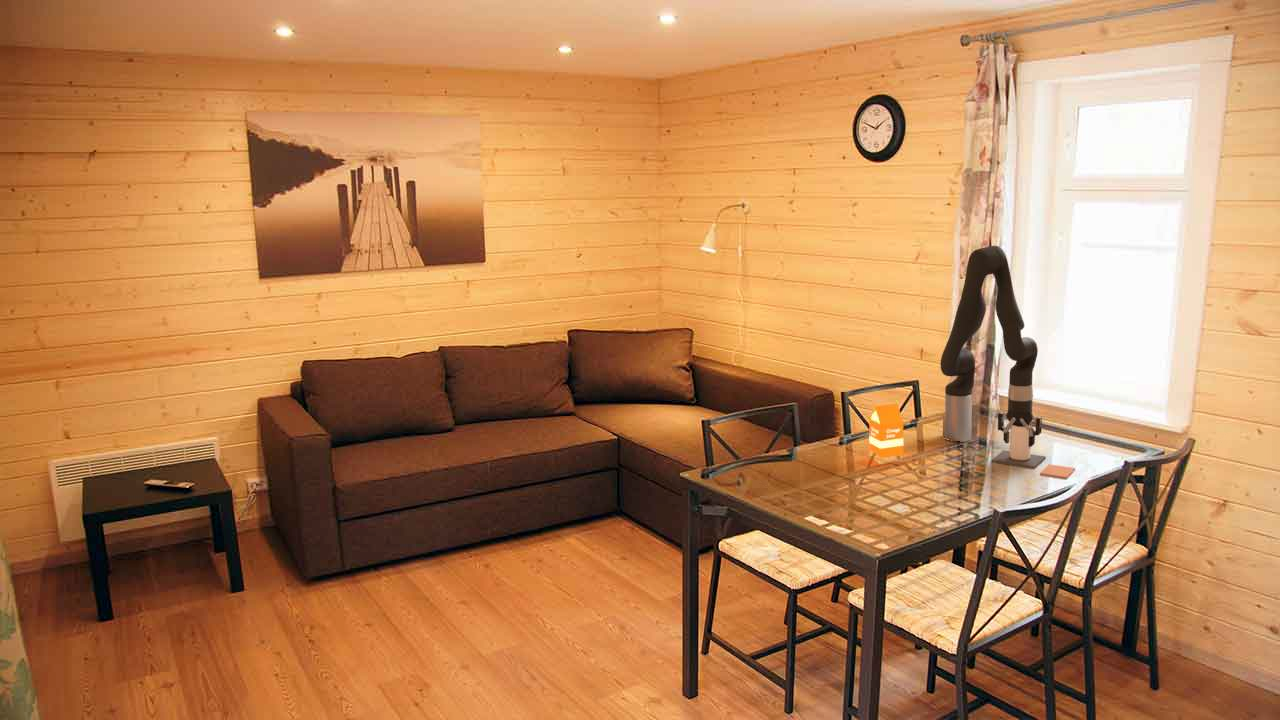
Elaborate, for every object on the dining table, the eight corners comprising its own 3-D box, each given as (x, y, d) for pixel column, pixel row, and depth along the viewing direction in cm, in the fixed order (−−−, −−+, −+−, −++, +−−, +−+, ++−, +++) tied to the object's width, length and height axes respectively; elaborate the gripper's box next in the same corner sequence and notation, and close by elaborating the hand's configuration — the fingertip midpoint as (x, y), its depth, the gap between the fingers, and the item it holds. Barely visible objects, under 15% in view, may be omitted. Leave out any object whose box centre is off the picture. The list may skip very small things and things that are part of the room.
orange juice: (903, 462, 311) (903, 406, 307) (880, 465, 309) (880, 409, 305) (891, 455, 319) (891, 400, 314) (869, 458, 317) (868, 403, 312)
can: (1025, 453, 309) (1026, 420, 306) (1033, 460, 302) (1034, 426, 299) (1006, 455, 309) (1007, 421, 306) (1013, 461, 303) (1014, 427, 300)
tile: (1048, 467, 299) (1039, 476, 291) (1049, 464, 298) (1040, 472, 291) (1074, 471, 294) (1066, 480, 286) (1075, 468, 293) (1066, 477, 286)
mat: (991, 462, 306) (991, 459, 306) (1003, 452, 315) (1003, 450, 314) (1034, 468, 297) (1034, 466, 297) (1045, 458, 306) (1045, 456, 306)
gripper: (994, 397, 303) (993, 444, 306) (1039, 402, 294) (1037, 450, 297) (1002, 392, 309) (1000, 438, 312) (1046, 397, 299) (1044, 444, 303)
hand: (1018, 444), depth 305 cm, fingers open, 7 cm apart
